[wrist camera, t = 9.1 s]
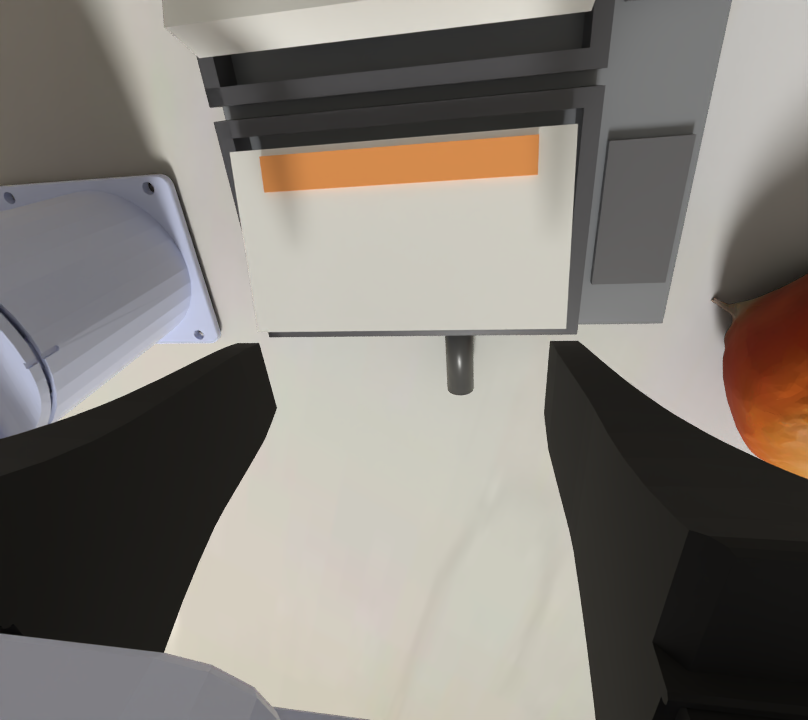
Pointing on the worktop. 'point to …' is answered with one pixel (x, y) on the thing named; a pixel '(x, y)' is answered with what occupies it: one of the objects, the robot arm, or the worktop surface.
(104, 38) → the worktop surface
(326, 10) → the rocker middle
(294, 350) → the worktop surface
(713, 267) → the worktop surface
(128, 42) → the worktop surface
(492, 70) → the rocker switch panel
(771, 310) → the fruit
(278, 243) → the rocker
